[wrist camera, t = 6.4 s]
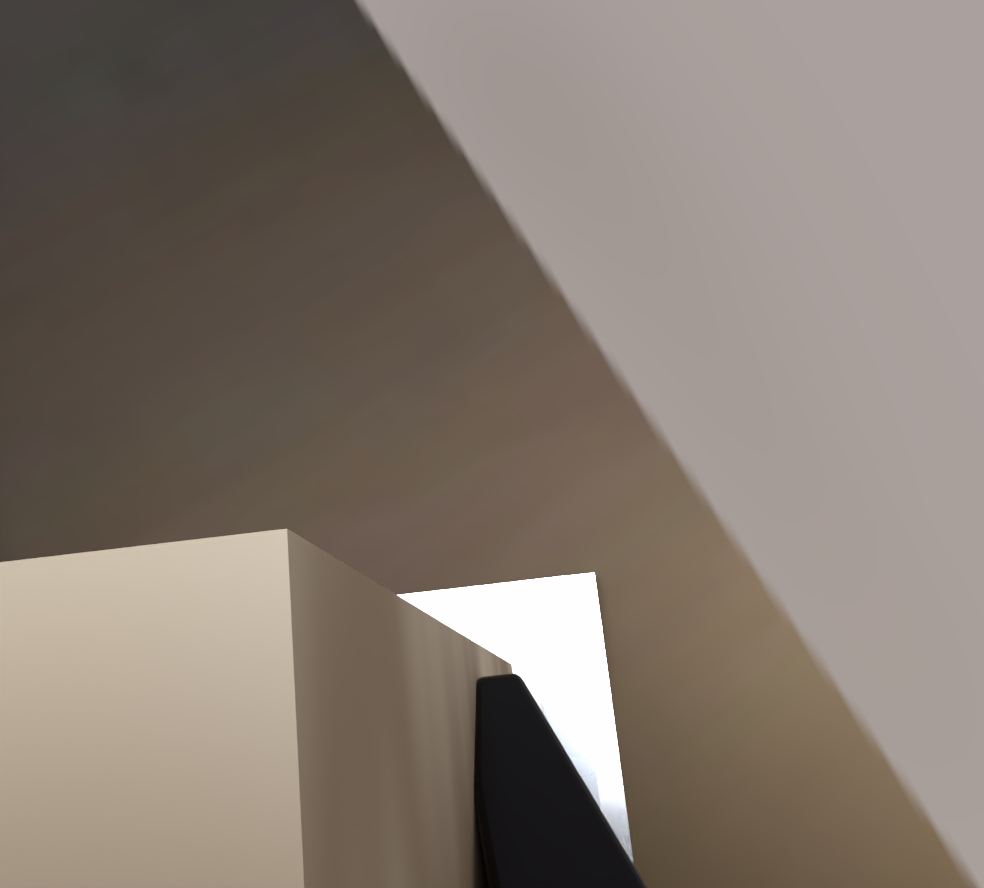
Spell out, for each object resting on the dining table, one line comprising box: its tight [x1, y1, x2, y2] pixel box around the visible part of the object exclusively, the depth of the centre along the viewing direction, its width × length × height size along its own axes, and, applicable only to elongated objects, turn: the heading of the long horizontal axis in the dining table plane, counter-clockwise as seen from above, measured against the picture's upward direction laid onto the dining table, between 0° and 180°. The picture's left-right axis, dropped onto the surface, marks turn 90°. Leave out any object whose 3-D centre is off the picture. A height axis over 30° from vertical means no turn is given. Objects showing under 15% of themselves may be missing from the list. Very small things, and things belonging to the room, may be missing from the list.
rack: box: [398, 572, 634, 864], centre depth 19 cm, size 8×6×4 cm
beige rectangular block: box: [0, 529, 513, 888], centre depth 8 cm, size 4×2×13 cm, turn 6°
